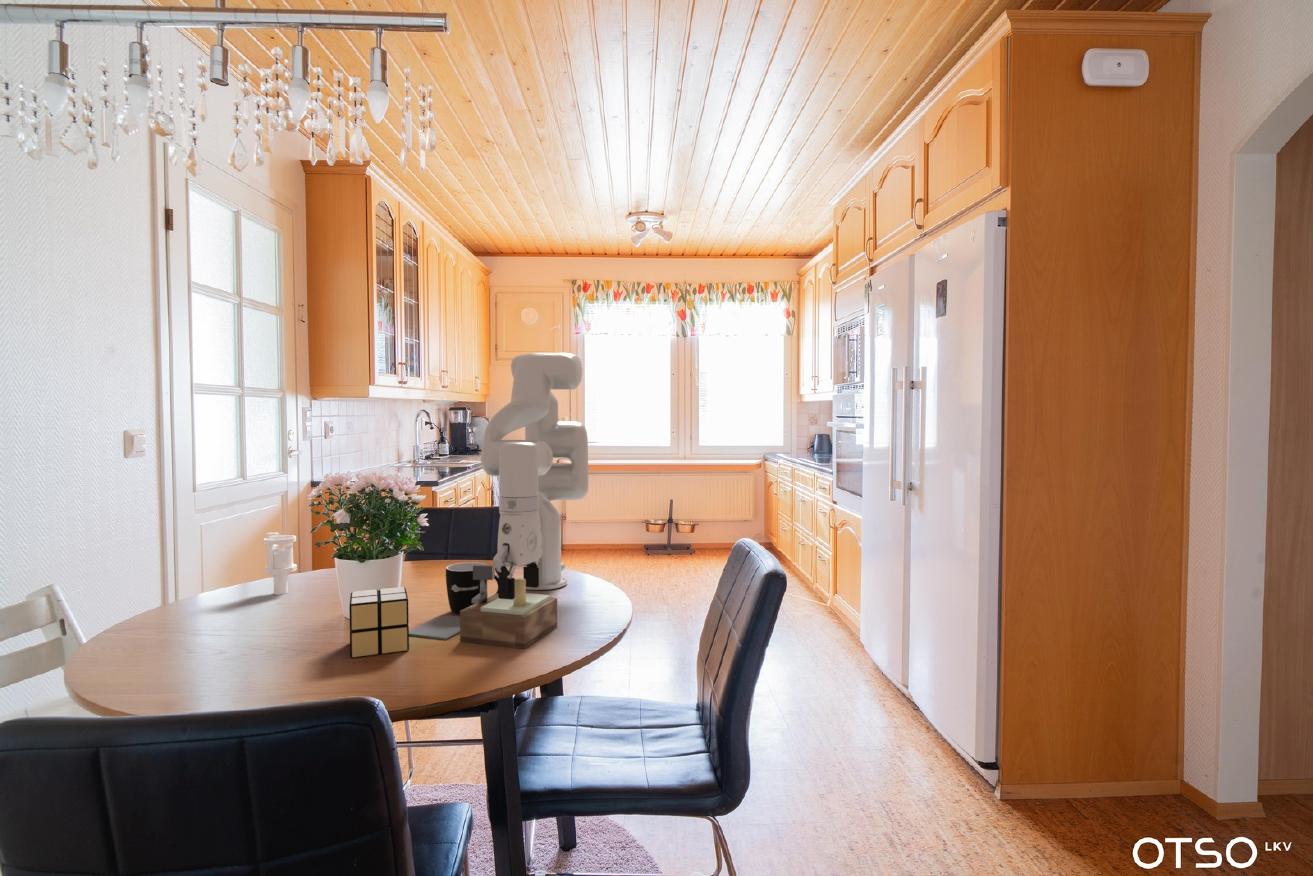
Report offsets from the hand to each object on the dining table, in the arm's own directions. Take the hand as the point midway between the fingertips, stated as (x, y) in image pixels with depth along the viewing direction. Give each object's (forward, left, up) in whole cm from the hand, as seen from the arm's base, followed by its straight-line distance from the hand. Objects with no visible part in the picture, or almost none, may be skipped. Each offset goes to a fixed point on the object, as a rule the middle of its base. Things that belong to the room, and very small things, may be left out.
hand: (519, 592), depth 131 cm
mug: (-15, -20, -10) cm, 26 cm away
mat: (-2, -19, -9) cm, 21 cm away
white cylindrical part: (-14, -74, -10) cm, 76 cm away
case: (-3, -4, -9) cm, 10 cm away
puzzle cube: (+11, -24, -10) cm, 28 cm away
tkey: (-1, -9, -3) cm, 10 cm away
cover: (-3, -2, -3) cm, 5 cm away
